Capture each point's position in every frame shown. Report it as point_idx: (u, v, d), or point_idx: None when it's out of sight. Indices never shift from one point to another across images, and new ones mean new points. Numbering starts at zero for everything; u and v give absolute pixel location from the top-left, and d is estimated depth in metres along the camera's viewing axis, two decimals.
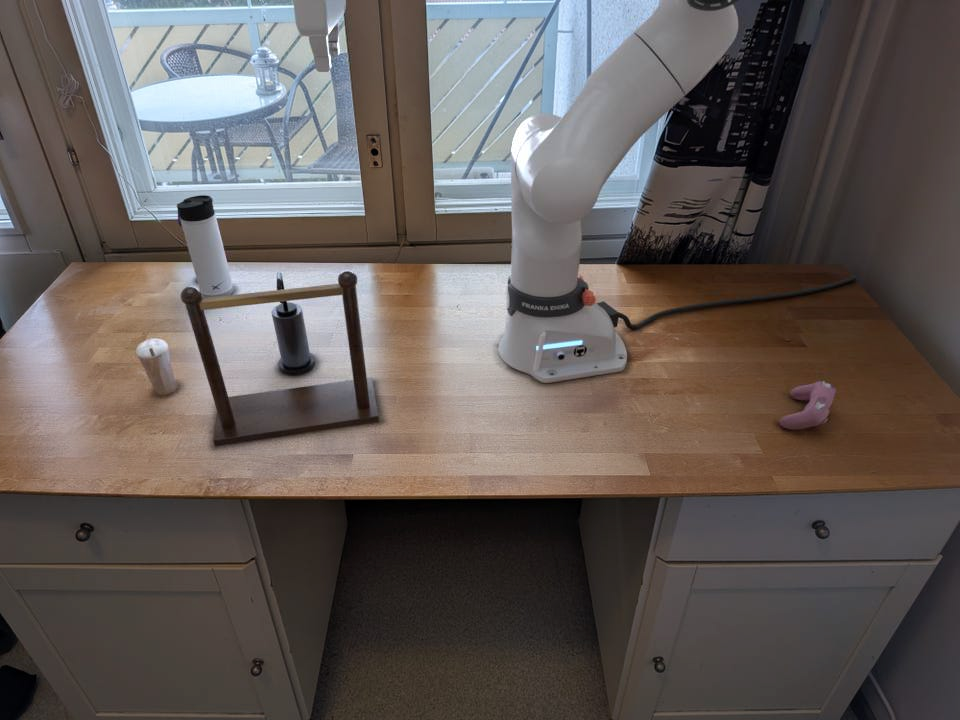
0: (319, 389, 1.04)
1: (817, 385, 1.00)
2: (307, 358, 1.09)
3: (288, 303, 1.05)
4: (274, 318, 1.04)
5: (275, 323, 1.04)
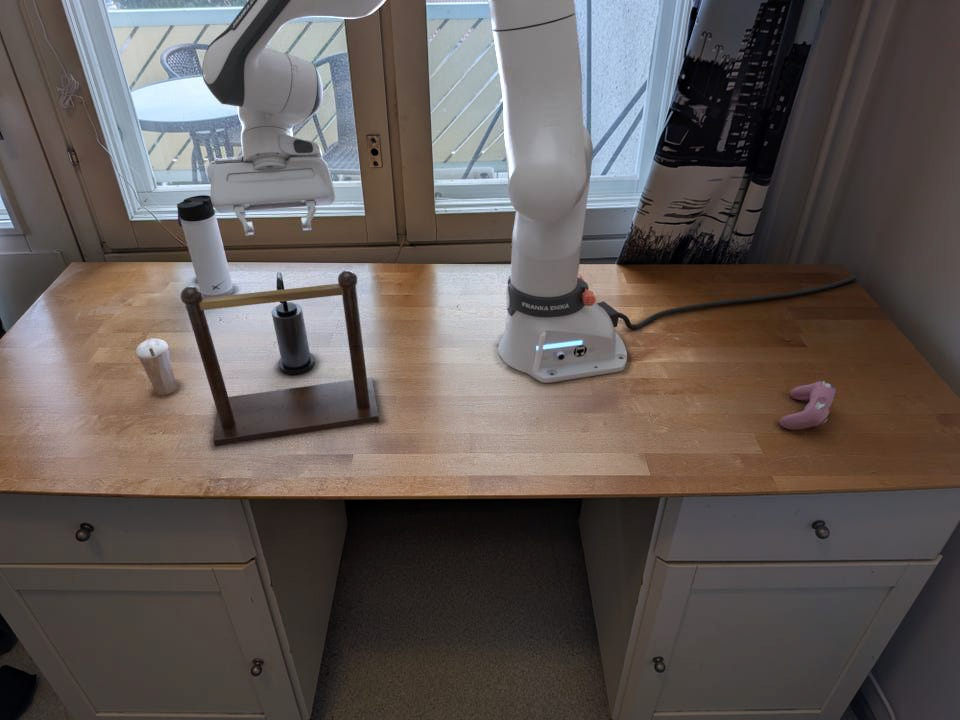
0: (319, 389, 1.04)
1: (817, 385, 1.00)
2: (307, 358, 1.09)
3: (288, 303, 1.05)
4: (274, 318, 1.04)
5: (275, 323, 1.04)
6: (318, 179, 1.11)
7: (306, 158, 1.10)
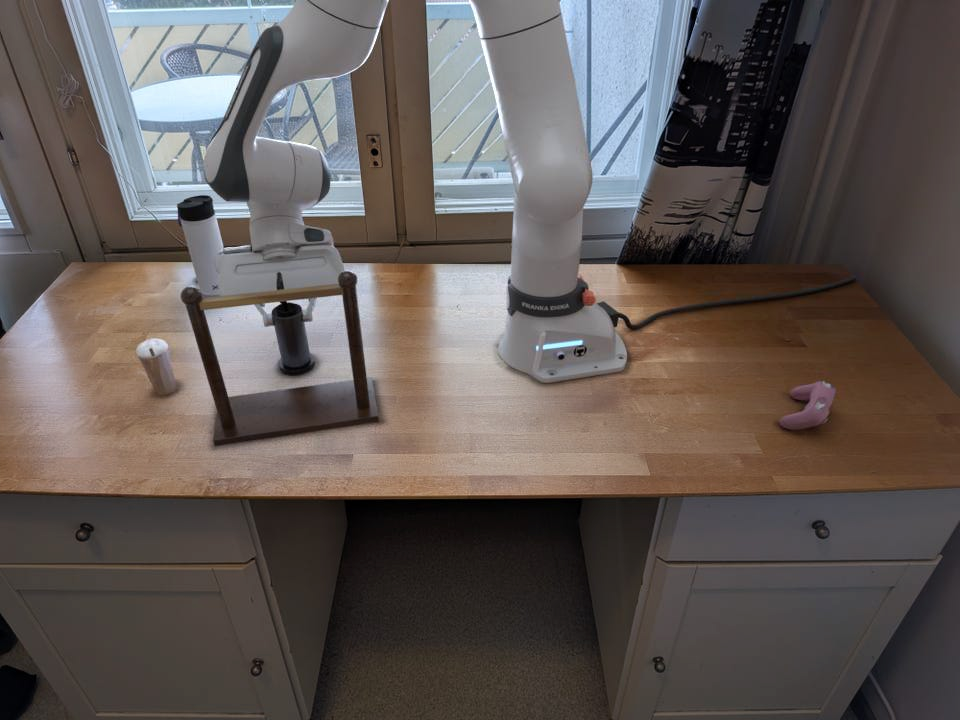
0: (319, 389, 1.04)
1: (817, 385, 1.00)
2: (307, 358, 1.09)
3: (288, 303, 1.05)
4: (274, 318, 1.04)
5: (275, 323, 1.04)
6: (329, 268, 1.06)
7: (317, 246, 1.06)
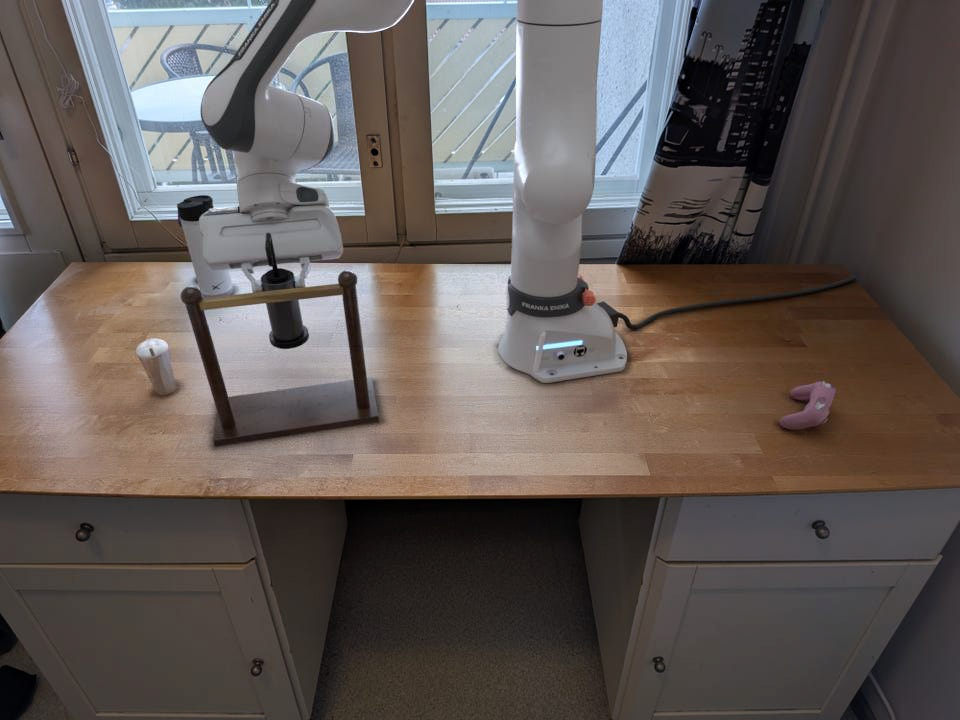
0: (319, 389, 1.04)
1: (817, 385, 1.00)
2: (300, 330, 1.01)
3: (279, 269, 0.97)
4: (263, 285, 0.95)
5: (265, 290, 0.95)
6: (324, 231, 0.98)
7: (310, 207, 0.97)
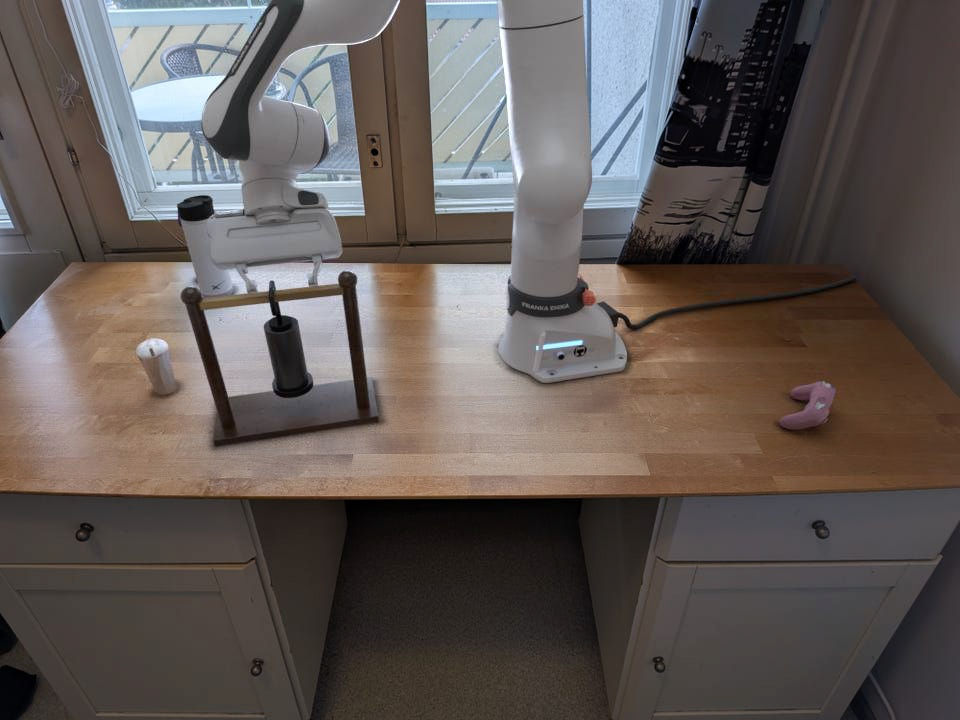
0: (319, 389, 1.04)
1: (817, 385, 1.00)
2: (305, 378, 0.97)
3: (282, 316, 0.93)
4: (266, 333, 0.91)
5: (268, 339, 0.92)
6: (324, 232, 1.04)
7: (311, 210, 1.03)
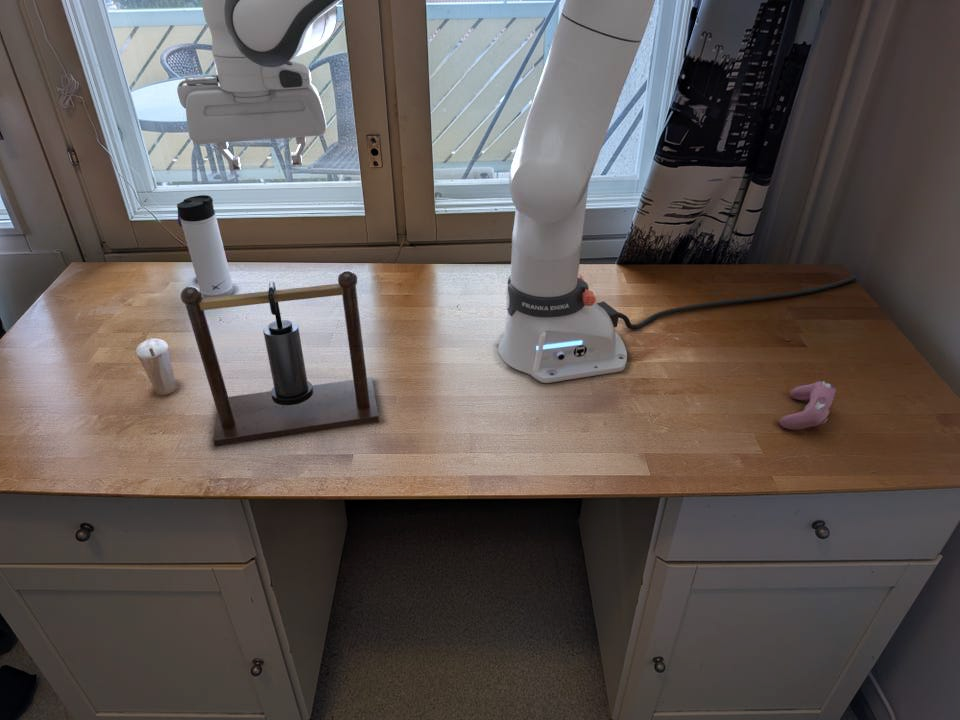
0: (319, 389, 1.04)
1: (817, 385, 1.00)
2: (304, 385, 0.95)
3: (282, 321, 0.93)
4: (266, 336, 0.91)
5: (267, 342, 0.91)
6: (308, 114, 0.98)
7: (294, 91, 0.95)
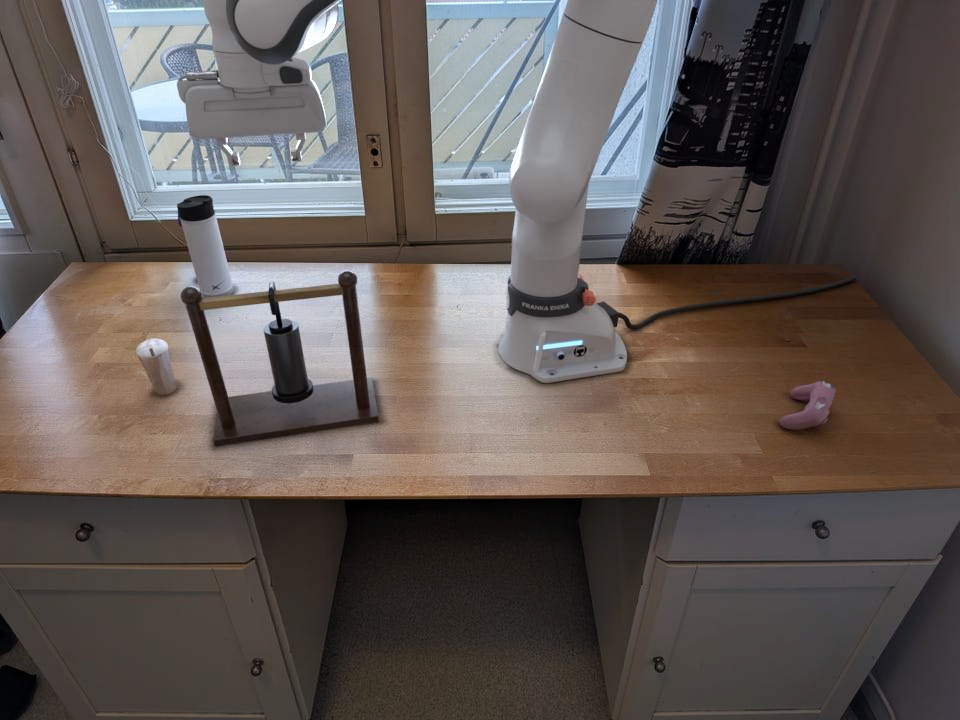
0: (319, 389, 1.04)
1: (817, 385, 1.00)
2: (305, 383, 0.96)
3: (283, 319, 0.93)
4: (266, 335, 0.91)
5: (267, 341, 0.91)
6: (308, 110, 0.98)
7: (294, 88, 0.95)
